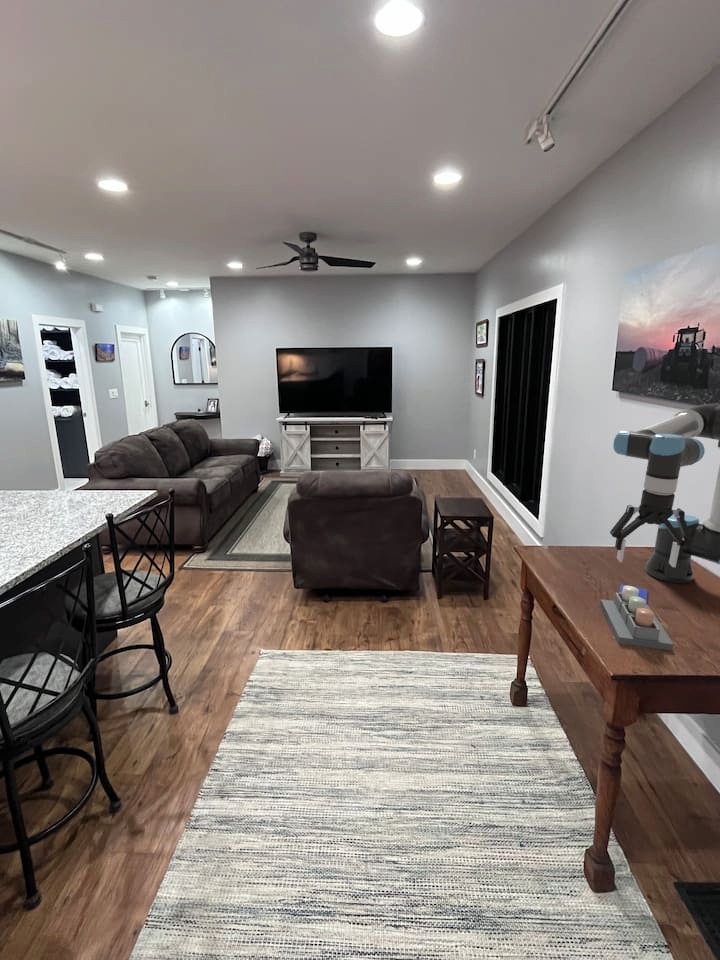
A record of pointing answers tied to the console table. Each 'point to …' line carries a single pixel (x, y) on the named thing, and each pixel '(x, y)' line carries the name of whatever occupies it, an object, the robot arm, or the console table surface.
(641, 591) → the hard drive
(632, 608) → the button sage
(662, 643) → the button board
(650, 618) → the button terracotta
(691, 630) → the console table surface
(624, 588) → the button ivory
